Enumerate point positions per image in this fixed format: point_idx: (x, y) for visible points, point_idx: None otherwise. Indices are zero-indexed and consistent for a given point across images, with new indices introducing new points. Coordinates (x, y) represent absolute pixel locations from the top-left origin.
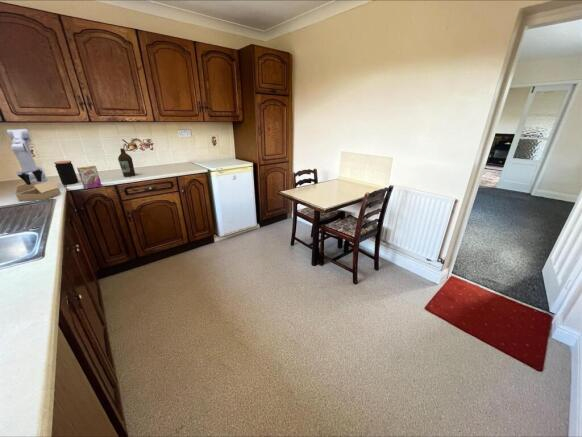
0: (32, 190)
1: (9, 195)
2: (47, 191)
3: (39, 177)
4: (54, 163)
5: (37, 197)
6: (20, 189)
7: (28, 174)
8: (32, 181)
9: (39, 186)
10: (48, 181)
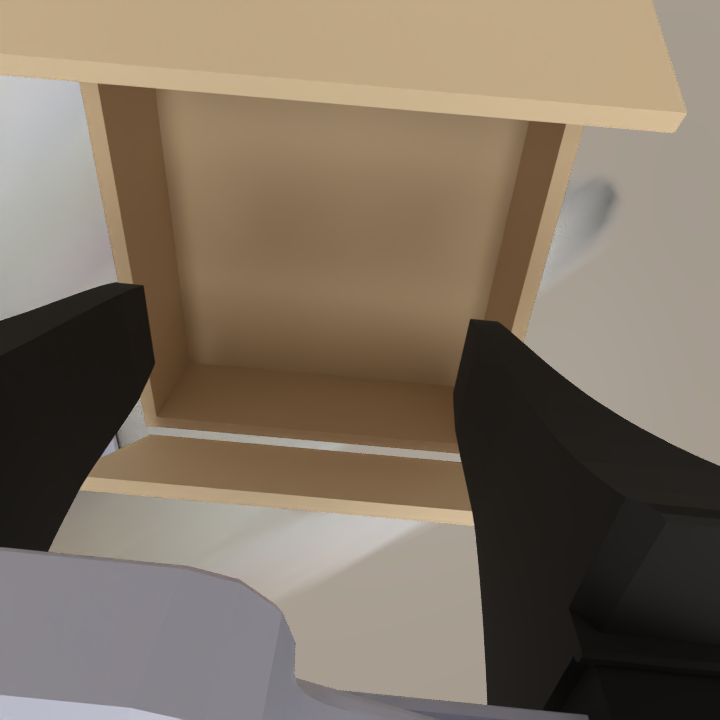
0: (224, 416)
1: None
2: (150, 220)
3: (63, 351)
4: None
5: None
6: (424, 475)
7: (692, 508)
8: (143, 494)
9: (529, 41)
10: (59, 47)
